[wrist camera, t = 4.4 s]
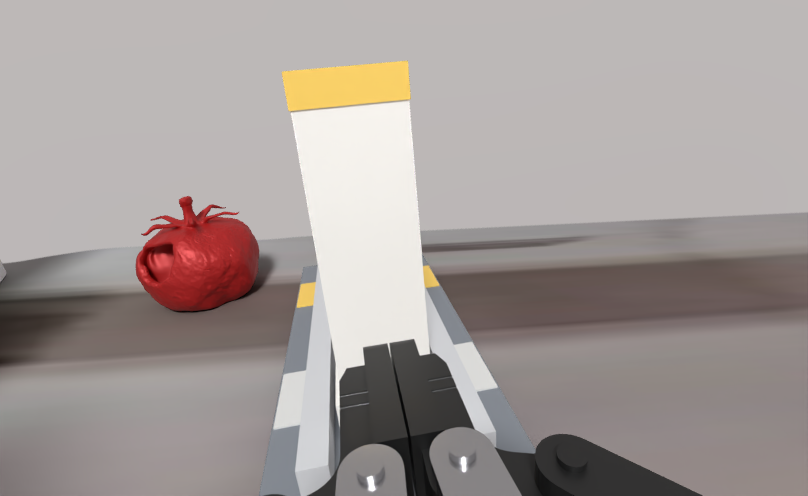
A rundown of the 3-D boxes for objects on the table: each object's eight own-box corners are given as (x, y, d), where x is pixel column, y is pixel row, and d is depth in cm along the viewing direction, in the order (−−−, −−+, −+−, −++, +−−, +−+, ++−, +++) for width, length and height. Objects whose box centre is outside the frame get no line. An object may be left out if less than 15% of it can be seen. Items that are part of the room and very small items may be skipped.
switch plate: (536, 479, 17) (537, 423, 16) (264, 539, 15) (246, 481, 14) (421, 265, 39) (419, 235, 38) (306, 282, 38) (300, 252, 37)
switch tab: (442, 413, 18) (415, 59, 13) (340, 433, 18) (272, 72, 13) (422, 357, 23) (397, 69, 17) (339, 371, 22) (288, 79, 17)
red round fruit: (257, 266, 44) (239, 180, 41) (276, 300, 35) (255, 194, 32) (152, 290, 39) (123, 196, 36) (145, 335, 31) (106, 218, 28)
